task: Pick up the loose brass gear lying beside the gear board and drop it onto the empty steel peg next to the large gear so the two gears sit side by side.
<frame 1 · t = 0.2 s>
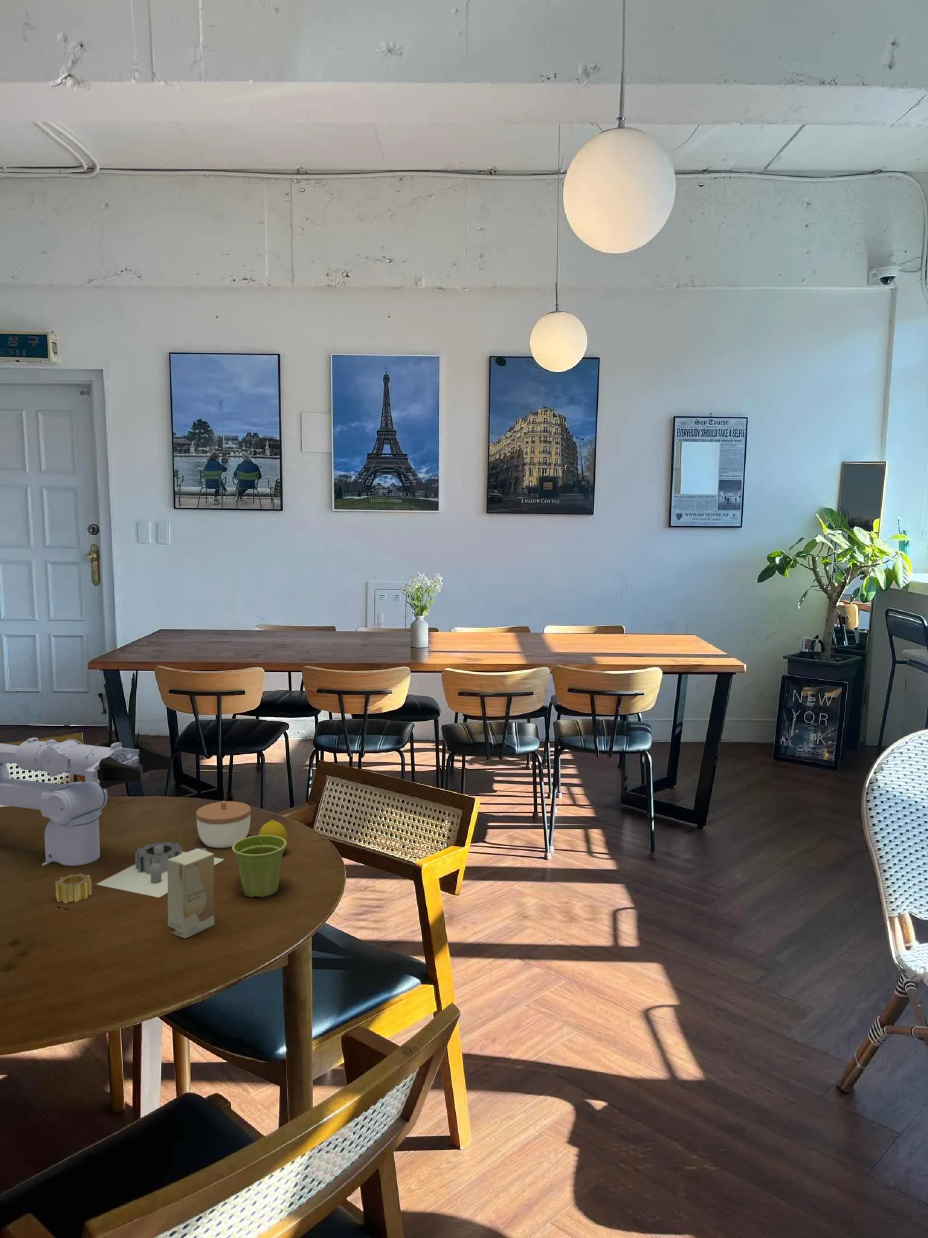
hand: (154, 768, 151), 21 cm above the table, tool horizontal, fingers open, 7 cm apart
brass gear: (74, 902, 144), on the table
plant pot: (260, 892, 149), on the table
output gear: (159, 865, 157), resting on gear board
skincare box: (192, 929, 135), on the table
lemon: (273, 860, 164), on the table
gear board: (162, 877, 155), on the table
lidded jar: (224, 847, 170), on the table
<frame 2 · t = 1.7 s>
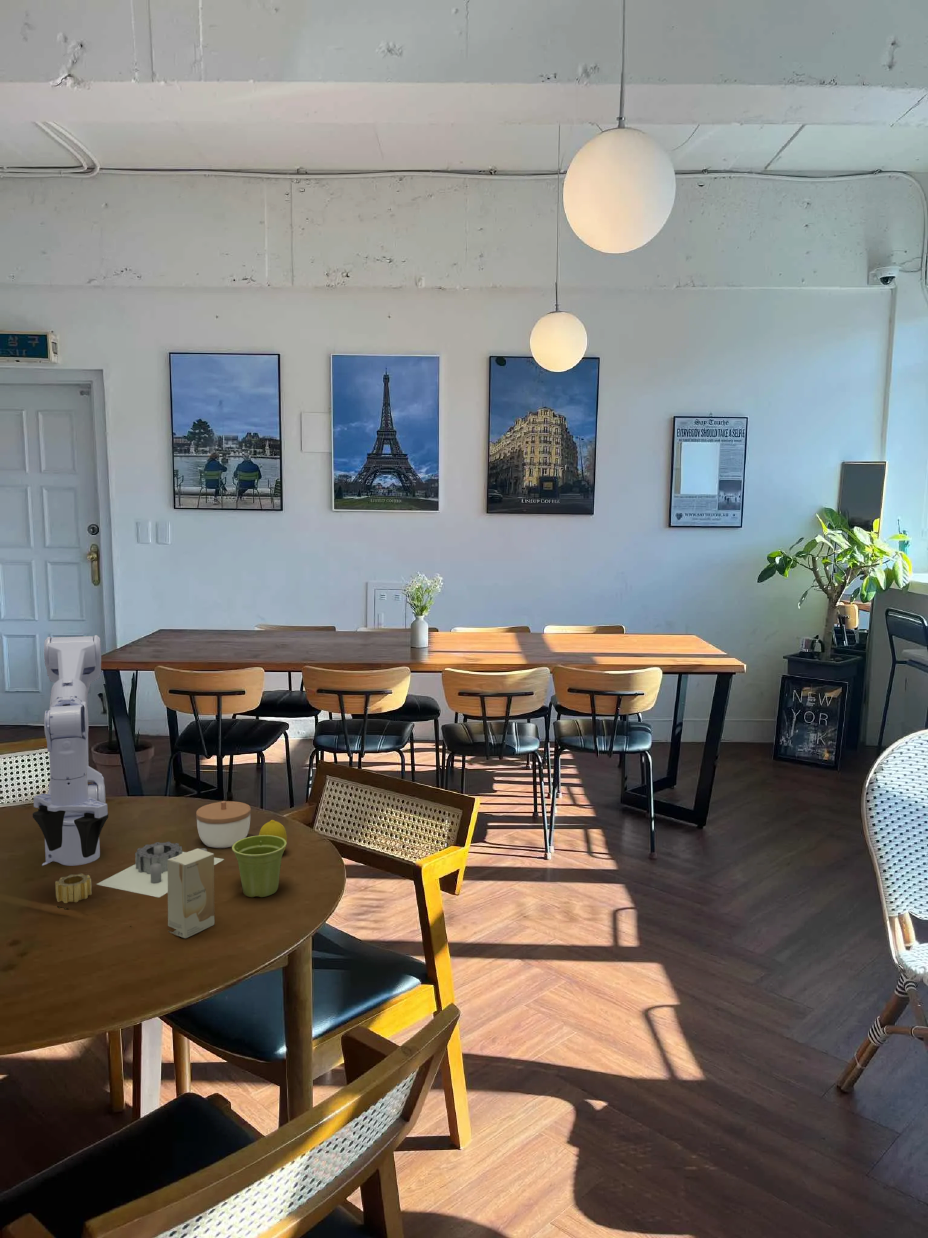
hand: (72, 852, 143), 9 cm above the table, tool pointing down, fingers open, 7 cm apart
nothing on the table moved.
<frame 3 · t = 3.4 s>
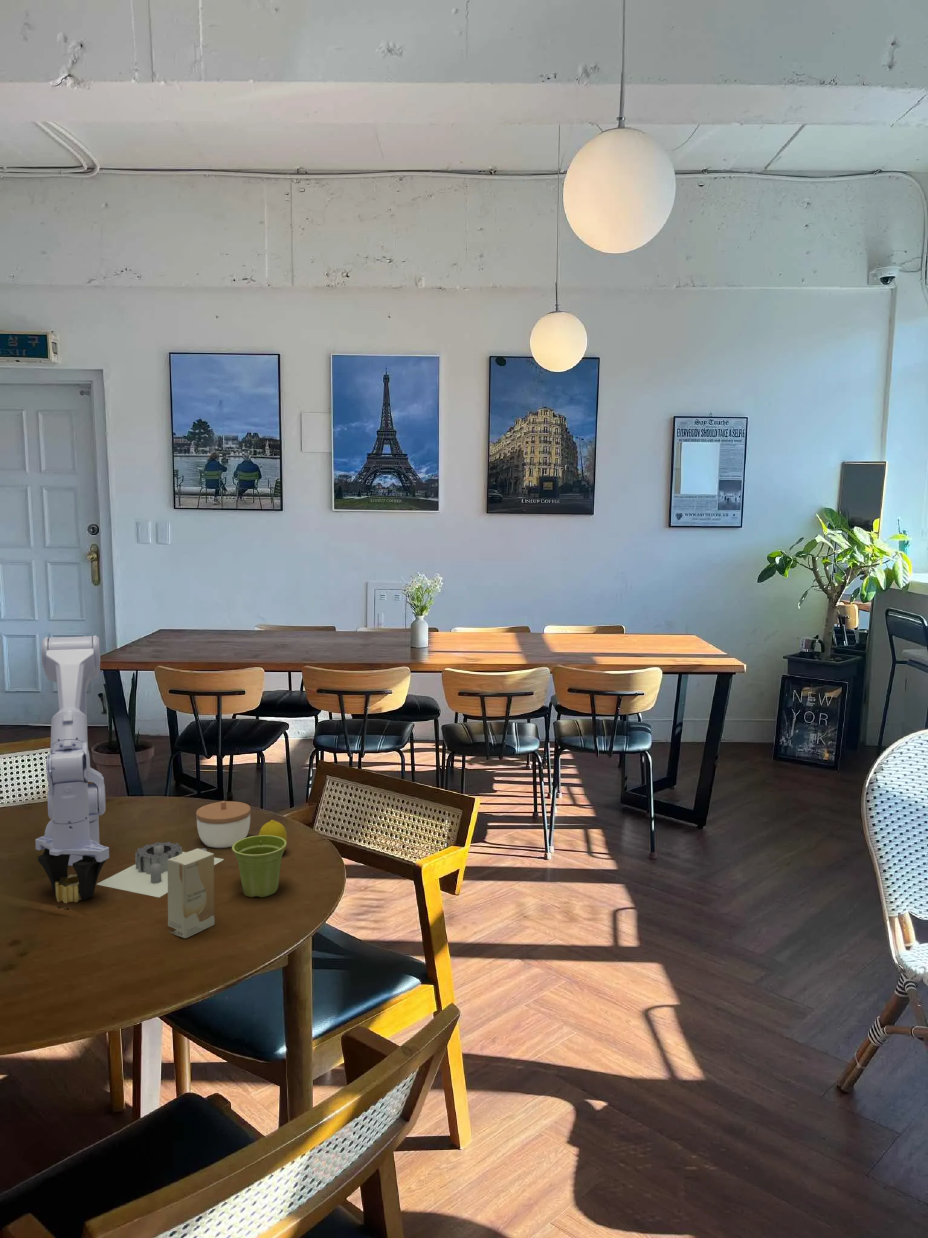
hand: (73, 894, 144), 1 cm above the table, tool pointing down, fingers closed on brass gear, 5 cm apart
brass gear: (74, 902, 144), on the table, touching gripper
everything else where it was.
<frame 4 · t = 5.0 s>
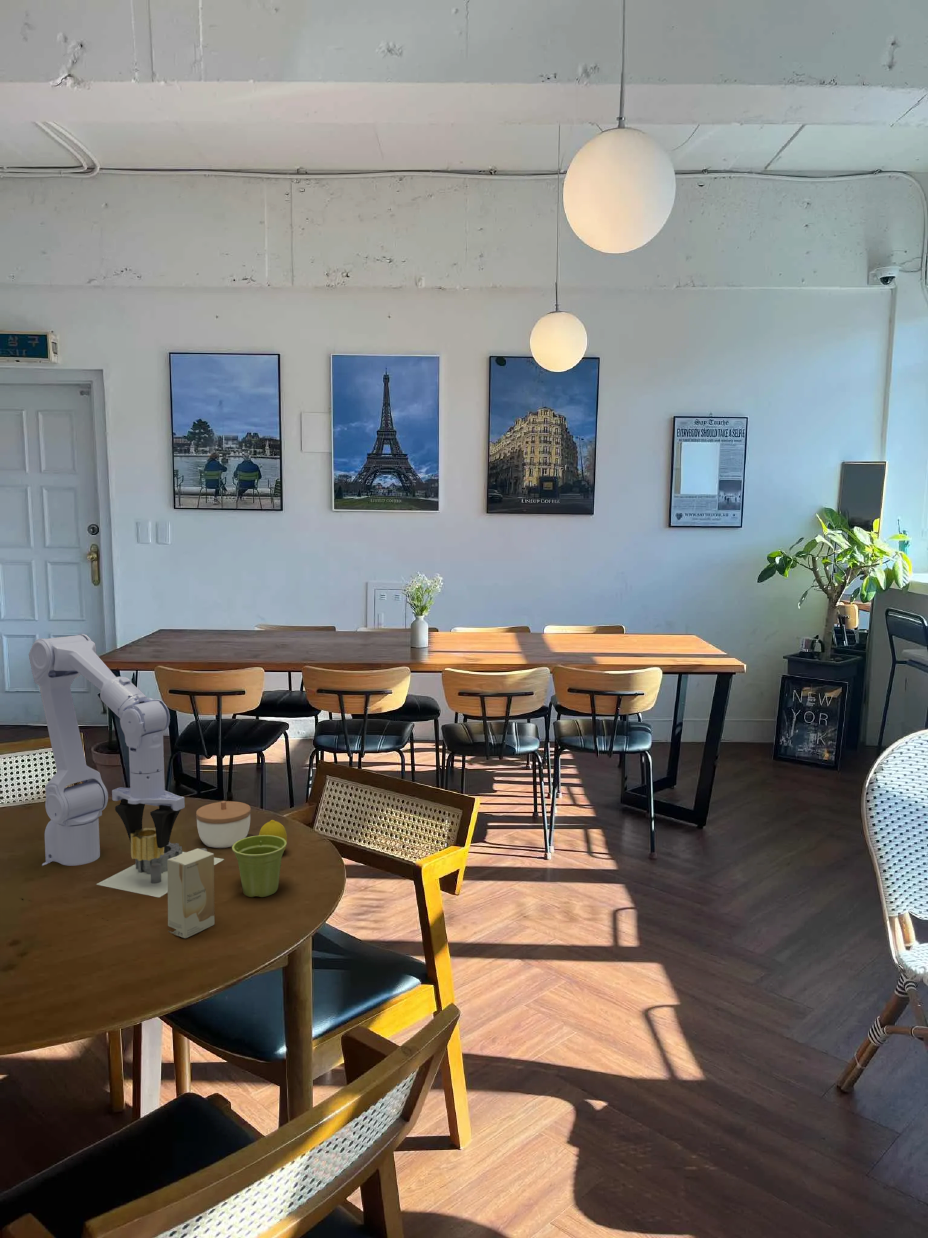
hand: (149, 843, 149), 8 cm above the table, tool pointing down, fingers closed on brass gear, 6 cm apart
brass gear: (147, 854, 149), point 7 cm above the table, touching gripper
everything else where it was.
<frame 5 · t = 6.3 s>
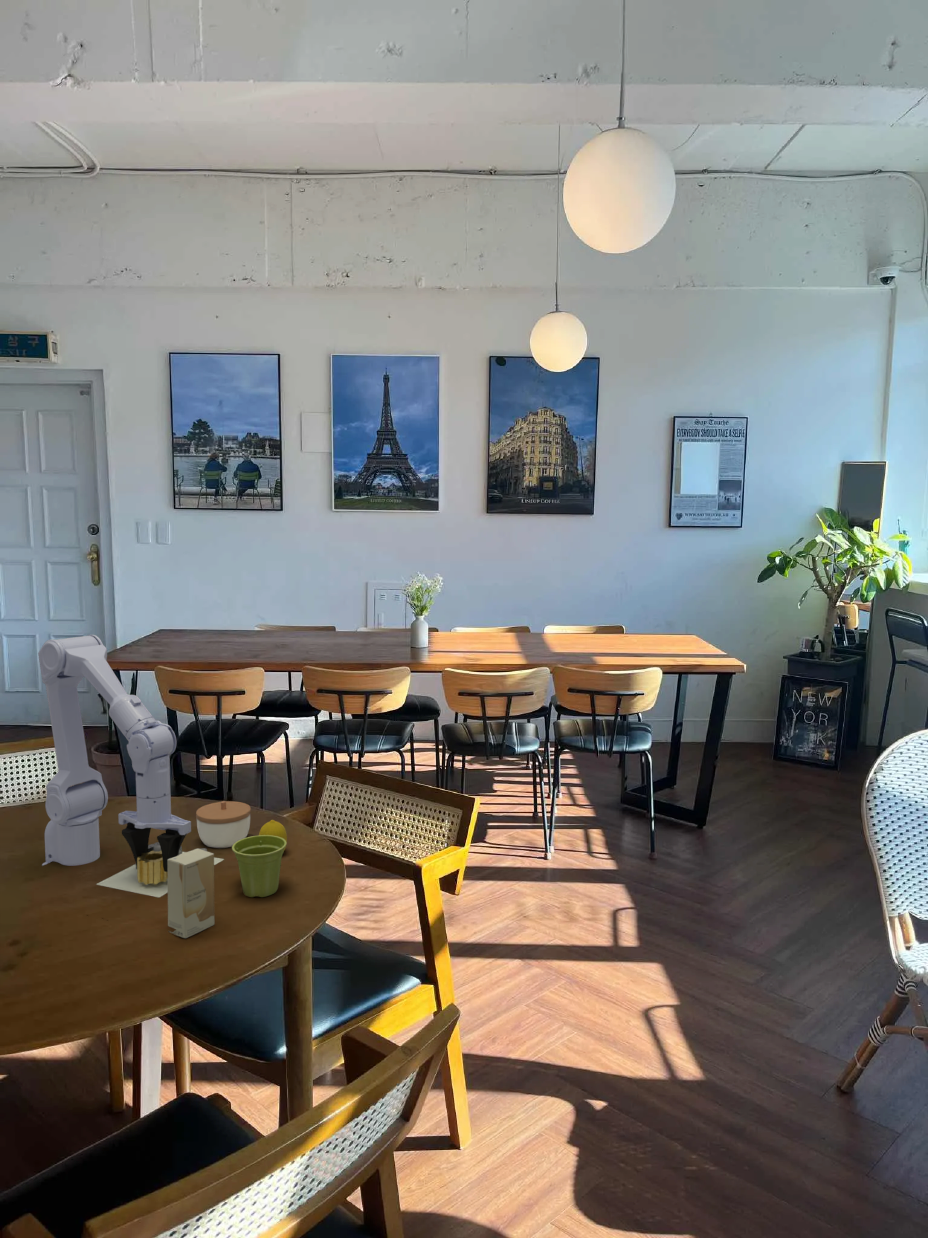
hand: (155, 867, 150), 4 cm above the table, tool pointing down, fingers closed on brass gear, 6 cm apart
brass gear: (154, 878, 150), point 2 cm above the table, touching gripper
everything else where it was.
when the fingers open (4 cm above the table, at t = 7.1 s): brass gear stays where it is, resting on gear board.
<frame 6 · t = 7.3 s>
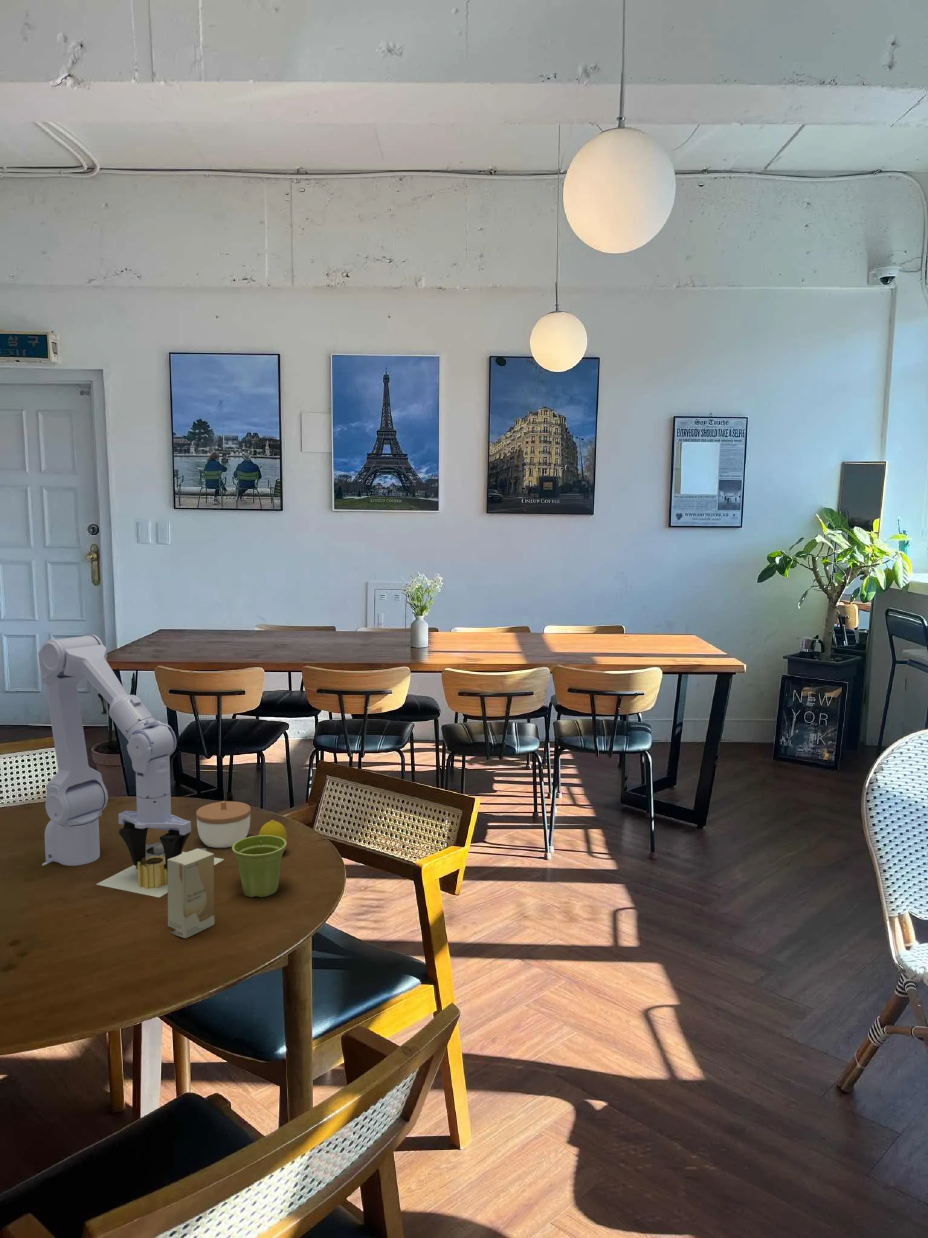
hand: (155, 867, 150), 4 cm above the table, tool pointing down, fingers open, 7 cm apart
brass gear: (154, 882, 150), point 1 cm above the table, touching gear board
everything else where it was.
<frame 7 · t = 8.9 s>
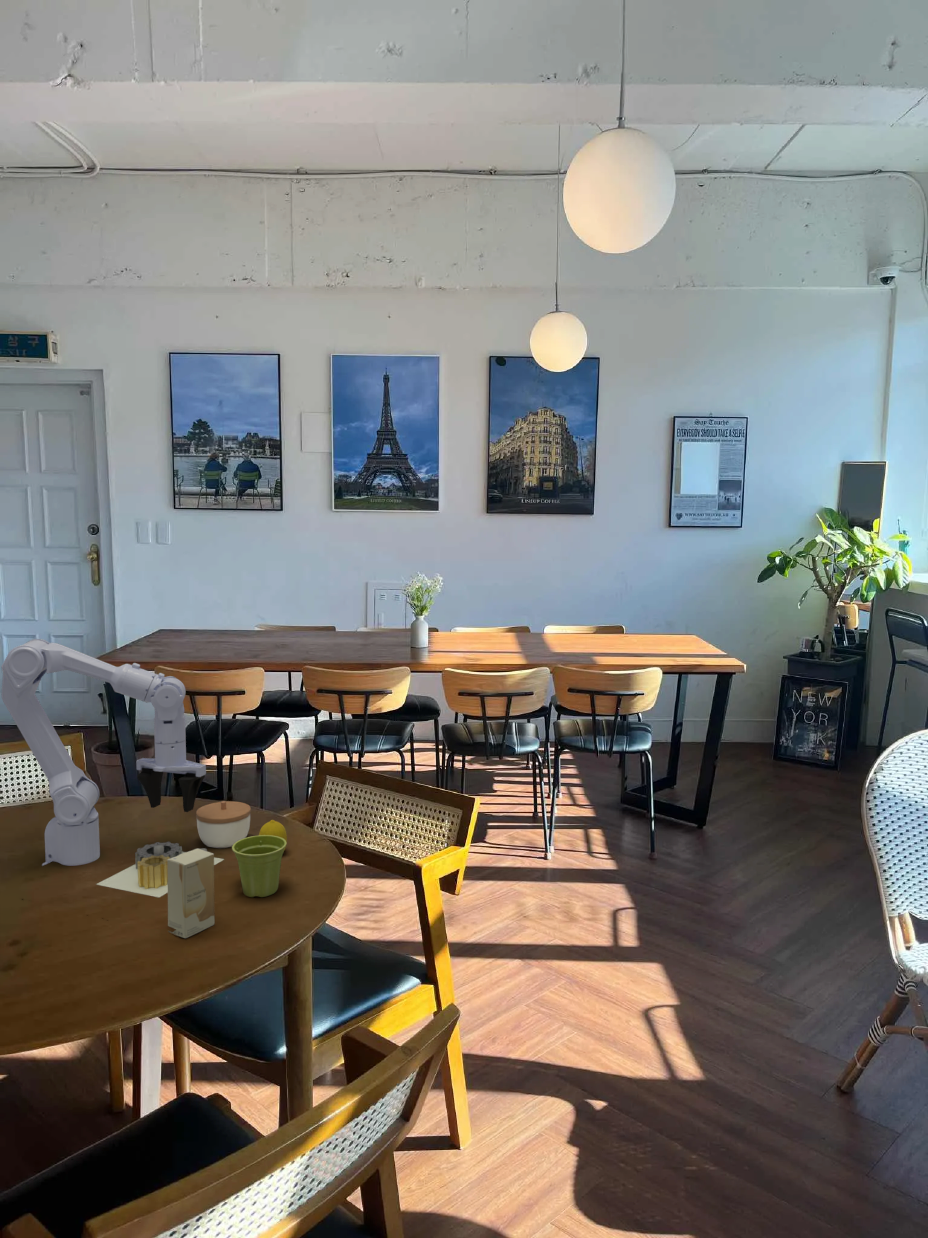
hand: (172, 808, 163), 10 cm above the table, tool pointing down, fingers open, 7 cm apart
nothing on the table moved.
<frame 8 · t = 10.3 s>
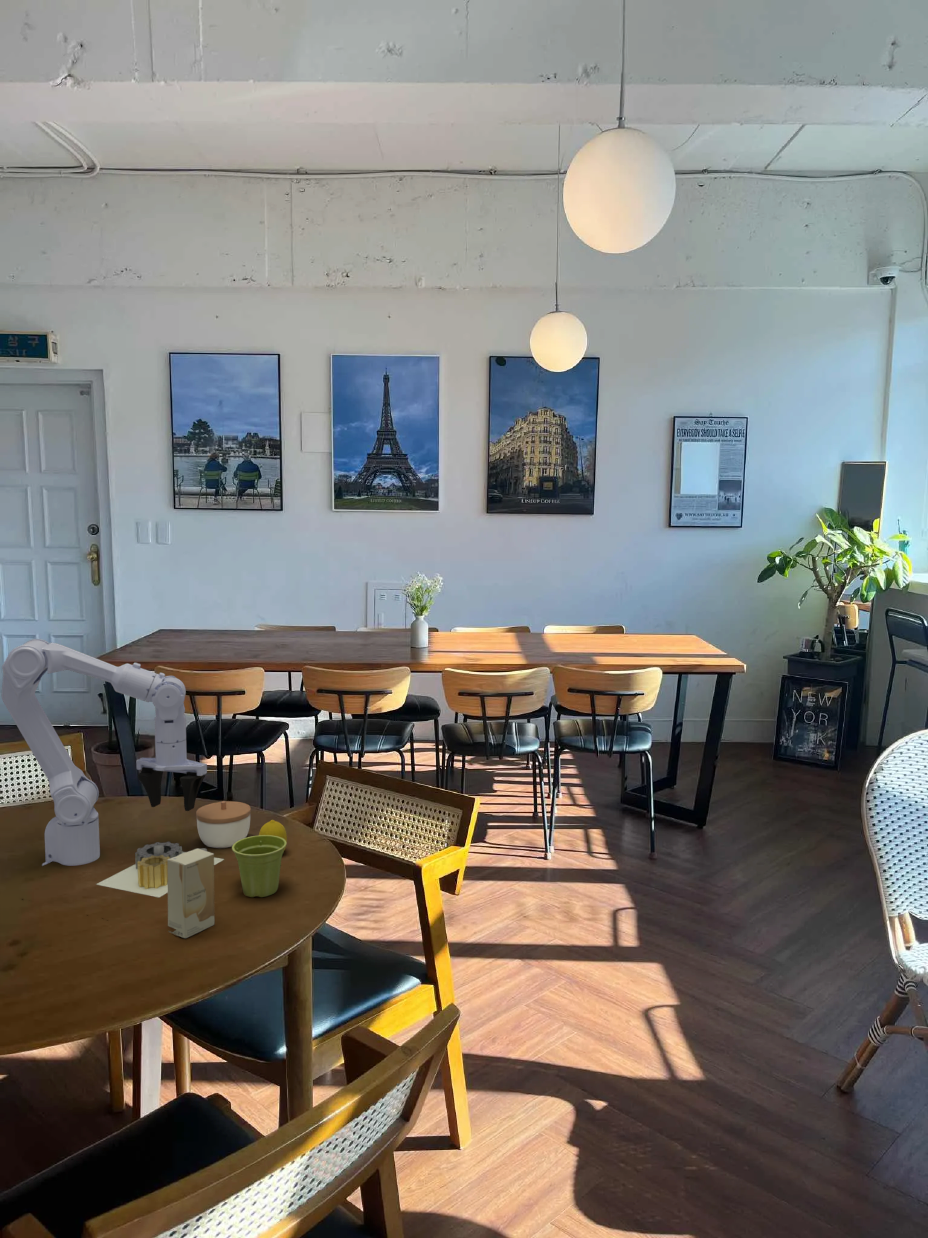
hand: (172, 807, 164), 10 cm above the table, tool pointing down, fingers open, 7 cm apart
nothing on the table moved.
at the end: brass gear 0.4 cm from the target spot, point 1.2 cm above the table; brass gear tilted 0°; the gripper is holding nothing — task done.
